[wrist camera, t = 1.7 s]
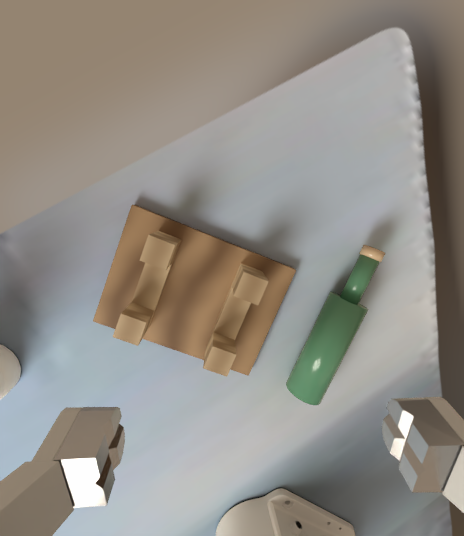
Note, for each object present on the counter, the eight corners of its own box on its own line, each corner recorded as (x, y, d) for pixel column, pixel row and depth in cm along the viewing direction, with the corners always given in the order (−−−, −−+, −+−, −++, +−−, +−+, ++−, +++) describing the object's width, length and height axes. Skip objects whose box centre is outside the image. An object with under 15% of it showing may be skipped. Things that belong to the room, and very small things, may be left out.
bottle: (308, 383, 44) (327, 407, 40) (280, 377, 42) (296, 402, 38) (374, 250, 40) (404, 260, 36) (346, 238, 39) (373, 246, 34)
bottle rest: (294, 268, 40) (307, 280, 34) (247, 370, 43) (252, 399, 36) (134, 204, 38) (117, 204, 31) (96, 317, 40) (73, 338, 34)
